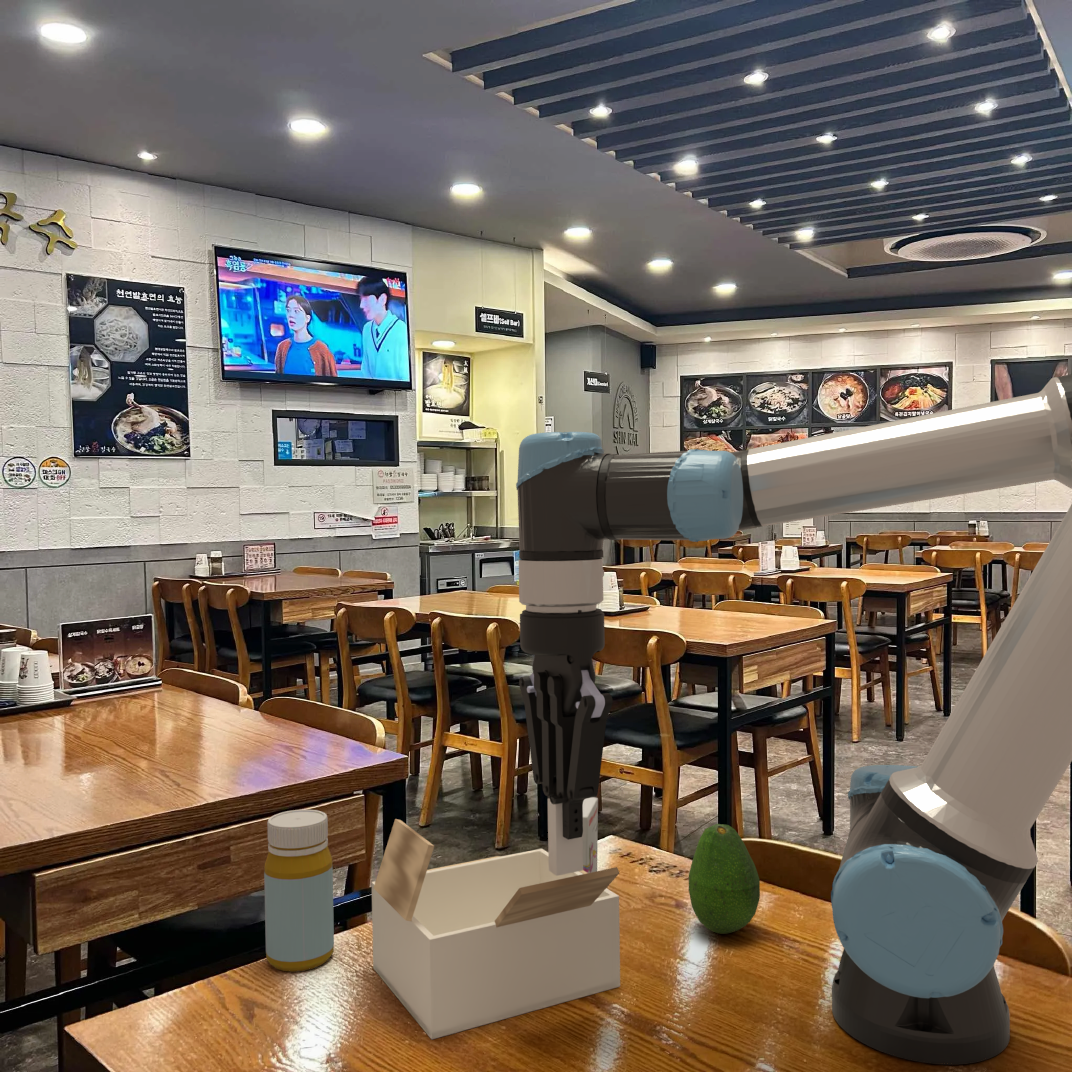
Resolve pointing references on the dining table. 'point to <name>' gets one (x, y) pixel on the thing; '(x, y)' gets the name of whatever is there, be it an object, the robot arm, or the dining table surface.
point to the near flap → (555, 896)
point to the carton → (491, 946)
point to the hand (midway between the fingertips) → (565, 870)
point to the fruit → (723, 881)
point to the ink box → (590, 834)
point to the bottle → (298, 891)
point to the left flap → (403, 869)
